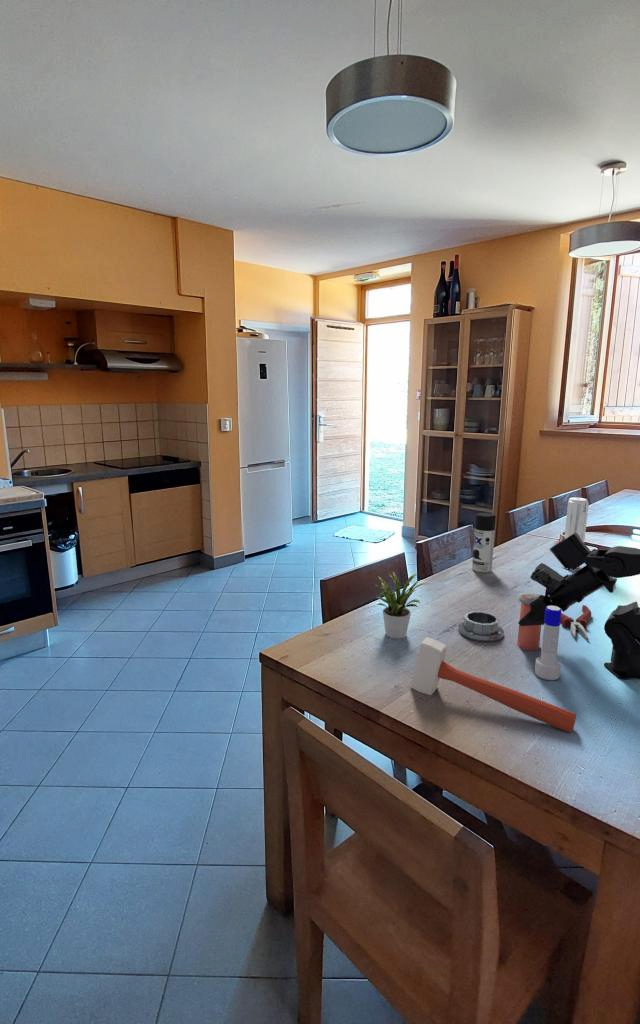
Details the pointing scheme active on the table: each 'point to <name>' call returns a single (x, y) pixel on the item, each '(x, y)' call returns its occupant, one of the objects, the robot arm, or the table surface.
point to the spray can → (483, 542)
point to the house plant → (397, 607)
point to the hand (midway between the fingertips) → (525, 618)
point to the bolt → (549, 646)
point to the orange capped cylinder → (528, 634)
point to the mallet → (482, 687)
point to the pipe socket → (481, 627)
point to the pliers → (577, 622)
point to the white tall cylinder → (576, 519)
